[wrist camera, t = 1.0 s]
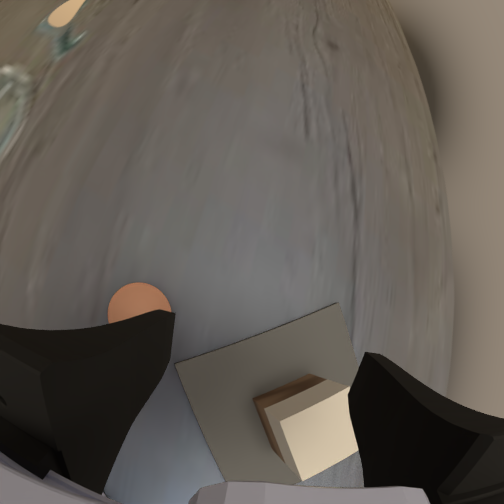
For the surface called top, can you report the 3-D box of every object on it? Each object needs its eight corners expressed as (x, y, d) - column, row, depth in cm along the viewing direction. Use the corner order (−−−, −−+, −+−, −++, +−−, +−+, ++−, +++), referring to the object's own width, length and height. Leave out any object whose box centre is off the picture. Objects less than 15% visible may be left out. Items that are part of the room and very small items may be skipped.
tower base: (272, 449, 21) (285, 463, 19) (252, 398, 22) (264, 408, 19) (325, 423, 23) (343, 433, 20) (309, 373, 24) (327, 379, 21)
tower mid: (285, 463, 19) (302, 481, 16) (264, 408, 19) (279, 421, 16) (343, 433, 20) (365, 445, 17) (327, 379, 21) (349, 386, 18)
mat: (238, 504, 20) (239, 507, 20) (174, 363, 21) (174, 364, 21) (374, 436, 24) (377, 437, 24) (336, 302, 26) (338, 302, 25)
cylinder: (127, 349, 21) (119, 355, 17) (111, 296, 21) (100, 292, 18) (178, 333, 22) (180, 337, 18) (161, 281, 23) (160, 274, 19)
